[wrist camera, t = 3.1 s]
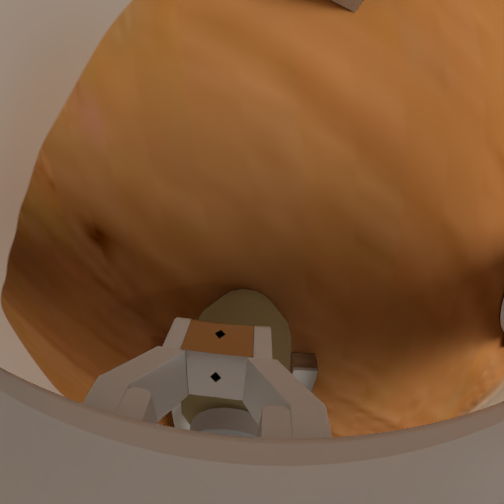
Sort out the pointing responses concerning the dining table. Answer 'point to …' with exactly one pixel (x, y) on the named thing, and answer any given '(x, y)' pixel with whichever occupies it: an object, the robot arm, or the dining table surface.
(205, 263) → the dining table surface
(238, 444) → the robot arm
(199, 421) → the squeeze bottle
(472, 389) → the dining table surface
